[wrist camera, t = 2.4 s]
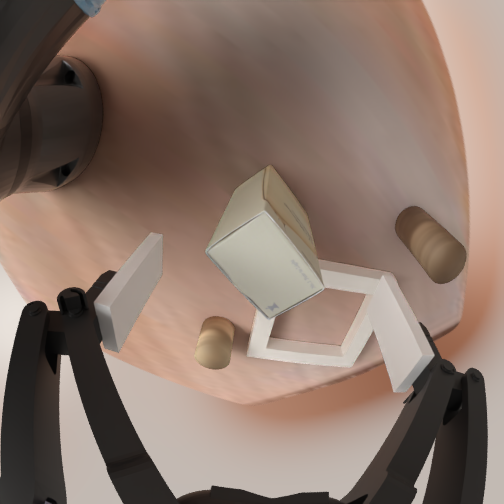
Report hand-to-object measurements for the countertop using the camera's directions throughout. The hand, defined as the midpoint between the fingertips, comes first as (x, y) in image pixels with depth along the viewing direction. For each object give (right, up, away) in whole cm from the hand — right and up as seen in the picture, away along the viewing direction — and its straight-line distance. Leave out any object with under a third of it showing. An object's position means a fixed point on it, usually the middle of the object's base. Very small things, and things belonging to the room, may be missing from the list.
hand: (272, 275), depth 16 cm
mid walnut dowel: (+15, +4, +10) cm, 19 cm away
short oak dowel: (-5, -8, +18) cm, 21 cm away
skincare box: (0, +6, +10) cm, 12 cm away
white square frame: (+6, -6, +16) cm, 18 cm away
